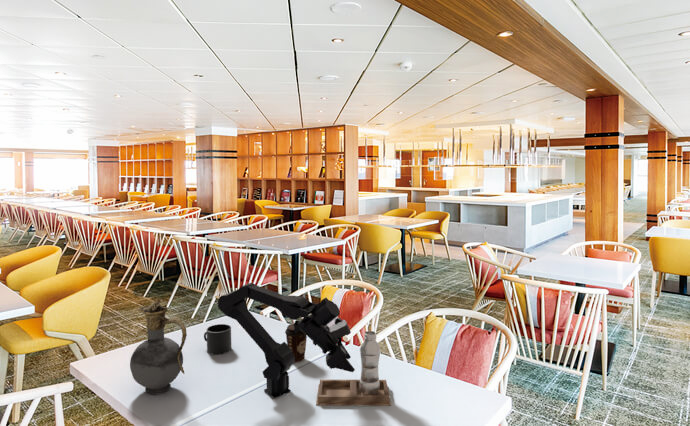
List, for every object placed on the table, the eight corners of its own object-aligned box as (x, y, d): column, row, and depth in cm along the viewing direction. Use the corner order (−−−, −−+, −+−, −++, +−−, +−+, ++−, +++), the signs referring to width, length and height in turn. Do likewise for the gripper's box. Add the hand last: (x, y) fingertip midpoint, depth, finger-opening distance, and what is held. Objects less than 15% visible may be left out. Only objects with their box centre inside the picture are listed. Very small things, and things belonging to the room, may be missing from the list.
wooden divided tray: (316, 405, 131) (315, 397, 131) (318, 385, 143) (318, 378, 143) (390, 405, 131) (390, 397, 131) (387, 386, 143) (387, 379, 143)
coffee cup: (310, 355, 167) (309, 322, 166) (306, 364, 159) (305, 330, 158) (288, 354, 168) (287, 322, 167) (283, 363, 160) (282, 329, 159)
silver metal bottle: (355, 391, 139) (356, 331, 137) (374, 386, 141) (374, 328, 140) (364, 400, 133) (365, 338, 131) (383, 396, 136) (384, 334, 134)
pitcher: (149, 378, 148) (146, 294, 145) (197, 385, 143) (194, 298, 140) (125, 394, 138) (121, 303, 135) (176, 402, 133) (173, 308, 130)
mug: (211, 343, 179) (210, 322, 178) (236, 347, 175) (235, 325, 174) (196, 352, 170) (196, 330, 169) (222, 356, 166) (221, 333, 165)
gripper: (338, 324, 124) (375, 359, 126) (332, 304, 142) (364, 335, 145) (311, 351, 124) (348, 385, 126) (308, 328, 142) (341, 358, 145)
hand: (351, 364), depth 135 cm, fingers open, 9 cm apart
